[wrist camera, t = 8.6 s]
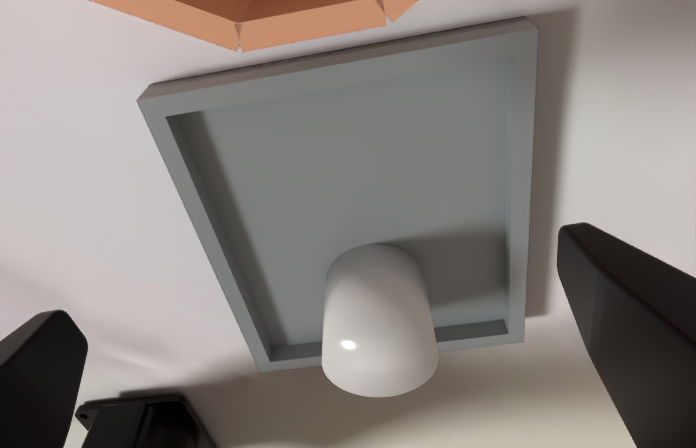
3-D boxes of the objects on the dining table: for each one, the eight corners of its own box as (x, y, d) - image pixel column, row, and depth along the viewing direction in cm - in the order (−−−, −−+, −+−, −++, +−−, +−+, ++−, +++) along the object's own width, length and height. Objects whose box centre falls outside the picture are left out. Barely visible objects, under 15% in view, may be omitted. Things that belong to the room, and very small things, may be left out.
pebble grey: (427, 309, 23) (442, 391, 20) (335, 321, 24) (333, 402, 20) (419, 236, 21) (434, 315, 17) (316, 251, 21) (310, 330, 18)
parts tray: (515, 319, 24) (523, 342, 23) (263, 350, 26) (260, 372, 25) (525, 16, 16) (538, 28, 15) (150, 84, 17) (136, 100, 16)
